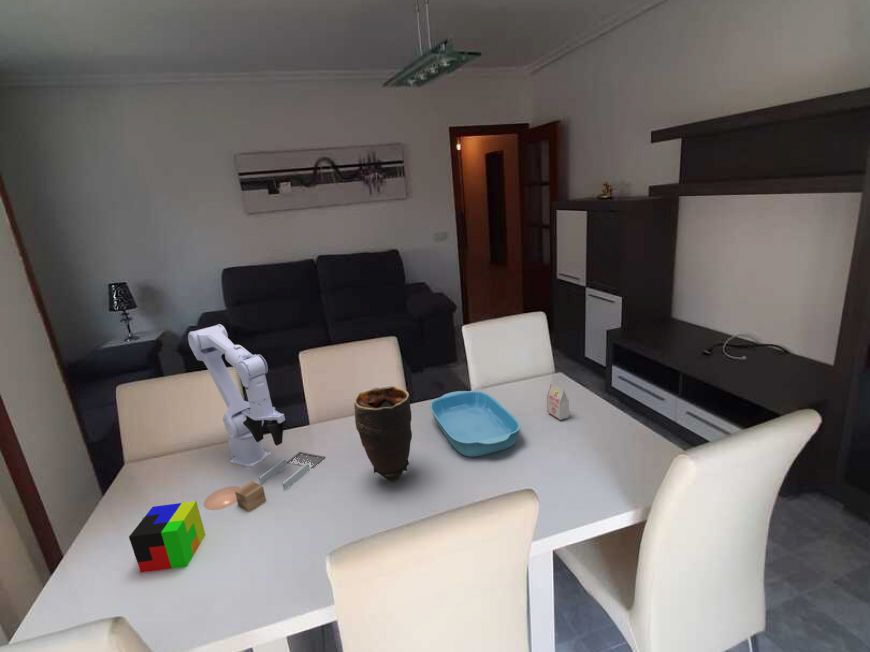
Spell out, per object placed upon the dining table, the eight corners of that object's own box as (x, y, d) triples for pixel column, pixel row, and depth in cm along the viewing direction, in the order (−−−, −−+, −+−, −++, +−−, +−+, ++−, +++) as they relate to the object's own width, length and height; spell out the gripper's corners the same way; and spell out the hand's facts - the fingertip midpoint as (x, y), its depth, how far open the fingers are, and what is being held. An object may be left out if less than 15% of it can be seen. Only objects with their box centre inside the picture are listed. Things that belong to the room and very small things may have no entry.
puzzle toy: (163, 542, 110) (152, 506, 107) (205, 536, 111) (196, 501, 108) (141, 574, 100) (128, 536, 98) (187, 568, 101) (176, 530, 98)
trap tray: (286, 463, 139) (286, 462, 138) (300, 453, 144) (299, 451, 144) (312, 469, 134) (312, 467, 134) (325, 458, 140) (325, 456, 139)
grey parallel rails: (260, 485, 129) (258, 477, 128) (285, 465, 138) (283, 458, 137) (285, 491, 125) (284, 483, 124) (309, 471, 134) (308, 463, 133)
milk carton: (556, 409, 157) (555, 382, 154) (569, 417, 151) (568, 389, 148) (547, 411, 156) (546, 384, 153) (559, 420, 150) (559, 391, 147)
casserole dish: (533, 452, 133) (533, 430, 131) (462, 472, 127) (460, 449, 125) (482, 403, 167) (481, 385, 165) (424, 416, 161) (422, 398, 159)
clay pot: (366, 501, 118) (353, 413, 111) (362, 469, 132) (350, 389, 125) (423, 489, 120) (413, 402, 114) (413, 458, 135) (404, 380, 128)
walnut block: (238, 507, 120) (234, 491, 119) (255, 496, 124) (251, 480, 123) (249, 513, 117) (245, 496, 116) (266, 502, 121) (262, 486, 120)
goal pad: (195, 506, 122) (195, 505, 122) (225, 484, 131) (225, 483, 131) (221, 514, 118) (221, 513, 118) (251, 491, 127) (251, 490, 126)
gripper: (288, 394, 129) (297, 438, 132) (252, 391, 135) (262, 432, 139) (269, 405, 123) (280, 450, 126) (232, 400, 129) (243, 444, 133)
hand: (269, 442), depth 132 cm, fingers open, 7 cm apart
